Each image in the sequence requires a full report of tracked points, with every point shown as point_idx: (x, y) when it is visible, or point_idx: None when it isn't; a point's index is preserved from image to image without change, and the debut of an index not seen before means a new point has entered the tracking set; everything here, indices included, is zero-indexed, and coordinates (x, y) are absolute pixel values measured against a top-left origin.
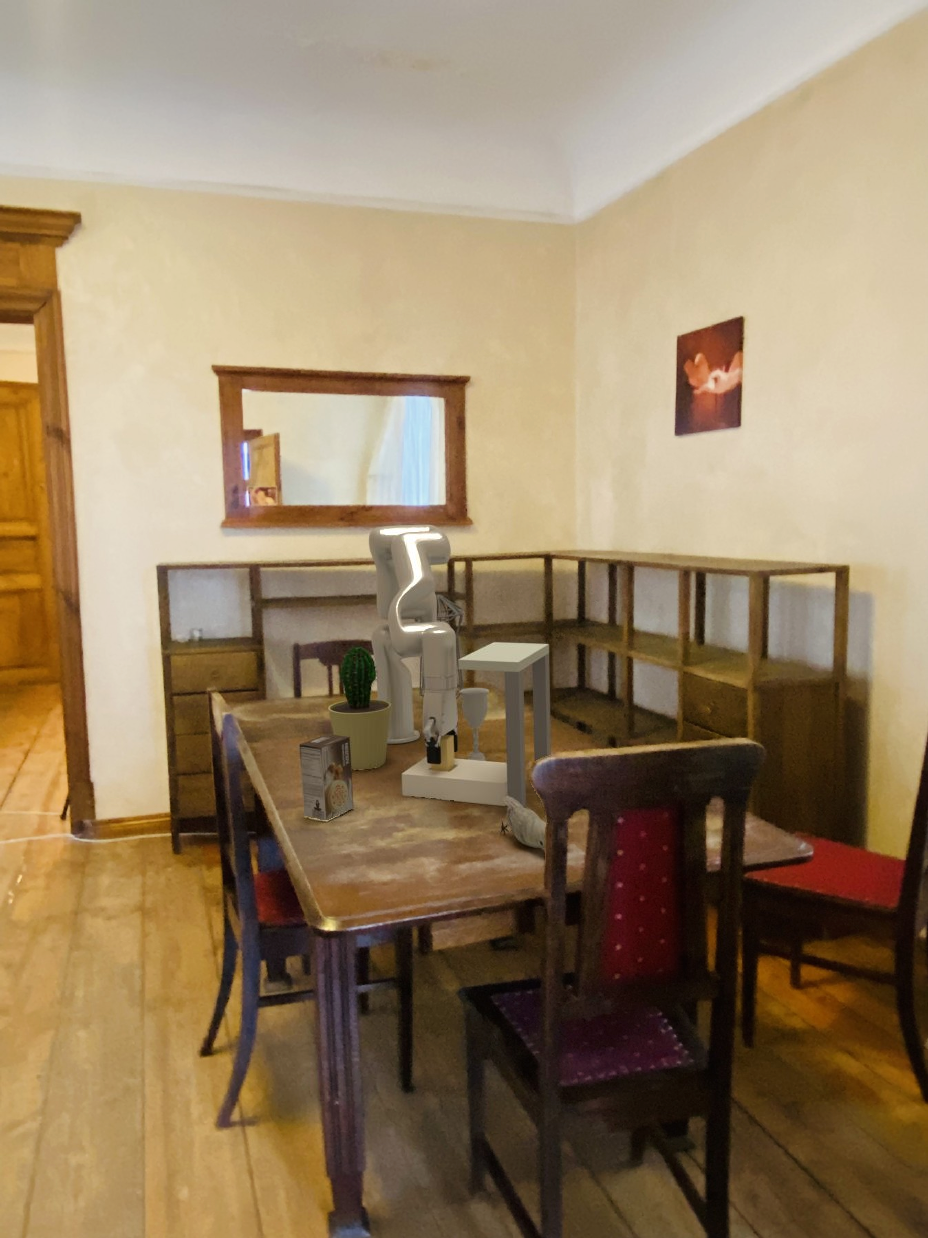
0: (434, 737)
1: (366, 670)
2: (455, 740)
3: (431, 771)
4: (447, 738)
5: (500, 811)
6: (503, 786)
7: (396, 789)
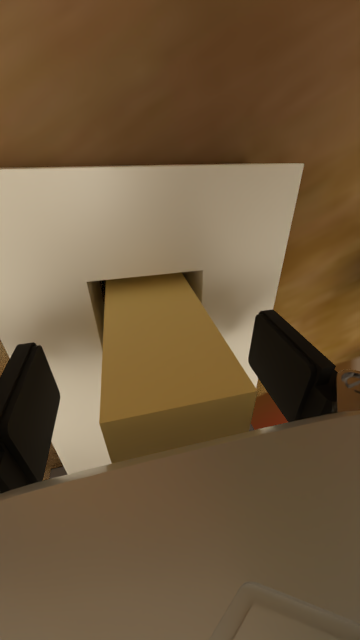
0: (154, 425)
1: None
2: (277, 403)
3: (71, 312)
4: None
5: (53, 456)
6: None
7: (41, 82)
